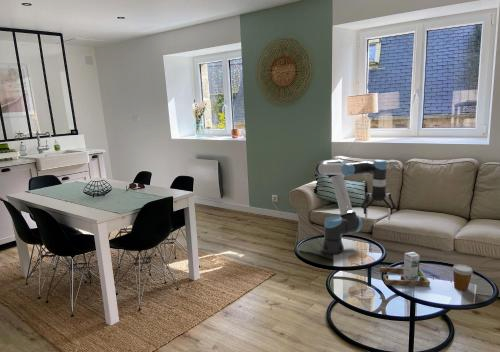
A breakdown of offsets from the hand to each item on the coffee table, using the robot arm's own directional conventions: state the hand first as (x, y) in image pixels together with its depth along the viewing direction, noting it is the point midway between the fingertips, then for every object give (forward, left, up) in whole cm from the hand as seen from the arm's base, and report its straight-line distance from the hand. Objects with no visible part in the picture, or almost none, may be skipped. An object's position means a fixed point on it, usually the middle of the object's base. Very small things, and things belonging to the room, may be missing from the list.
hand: (377, 219), depth 226 cm
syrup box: (+16, -18, -29) cm, 38 cm away
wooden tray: (+11, -21, -29) cm, 37 cm away
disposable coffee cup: (+39, -29, -29) cm, 57 cm away
